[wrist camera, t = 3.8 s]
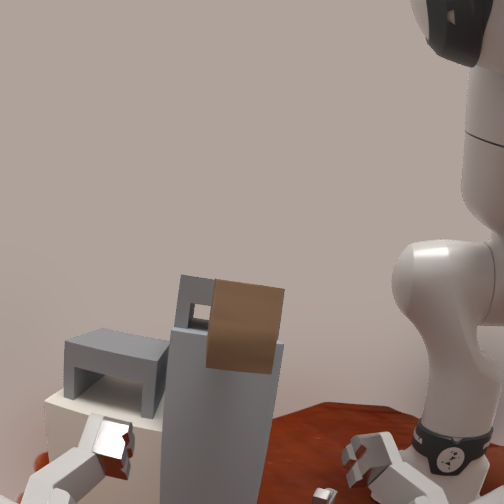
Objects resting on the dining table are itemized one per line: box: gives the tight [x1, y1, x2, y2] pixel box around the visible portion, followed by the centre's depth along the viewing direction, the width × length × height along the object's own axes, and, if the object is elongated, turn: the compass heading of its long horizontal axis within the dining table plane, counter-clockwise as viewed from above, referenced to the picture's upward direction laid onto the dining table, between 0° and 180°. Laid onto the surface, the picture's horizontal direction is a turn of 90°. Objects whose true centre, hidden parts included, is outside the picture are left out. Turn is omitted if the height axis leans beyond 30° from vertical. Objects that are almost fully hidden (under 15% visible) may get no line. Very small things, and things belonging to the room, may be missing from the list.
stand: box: [44, 275, 285, 504], centre depth 25 cm, size 12×18×30 cm, turn 98°
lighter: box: [312, 488, 337, 504], centre depth 28 cm, size 7×2×8 cm, turn 150°
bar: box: [206, 279, 284, 375], centre depth 22 cm, size 17×3×4 cm, turn 8°
